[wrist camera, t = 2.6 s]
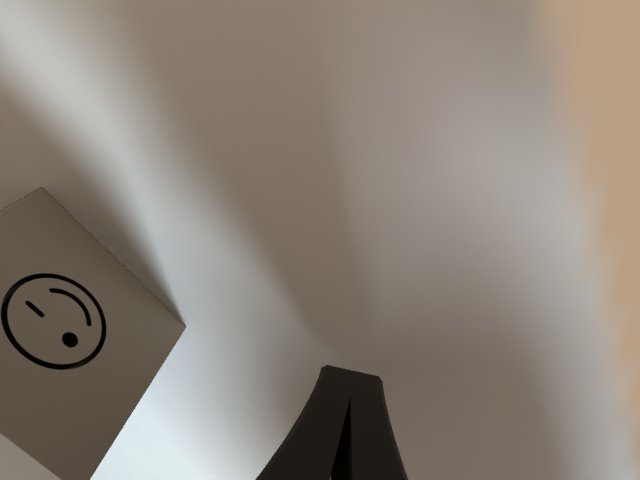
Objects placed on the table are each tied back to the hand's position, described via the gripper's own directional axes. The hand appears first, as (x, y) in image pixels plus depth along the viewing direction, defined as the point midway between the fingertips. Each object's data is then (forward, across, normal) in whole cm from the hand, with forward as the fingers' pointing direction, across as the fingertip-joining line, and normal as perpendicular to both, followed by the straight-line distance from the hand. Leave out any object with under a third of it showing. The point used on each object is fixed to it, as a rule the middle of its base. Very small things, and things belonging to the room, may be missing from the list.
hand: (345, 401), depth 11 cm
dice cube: (+2, +8, 0) cm, 8 cm away
